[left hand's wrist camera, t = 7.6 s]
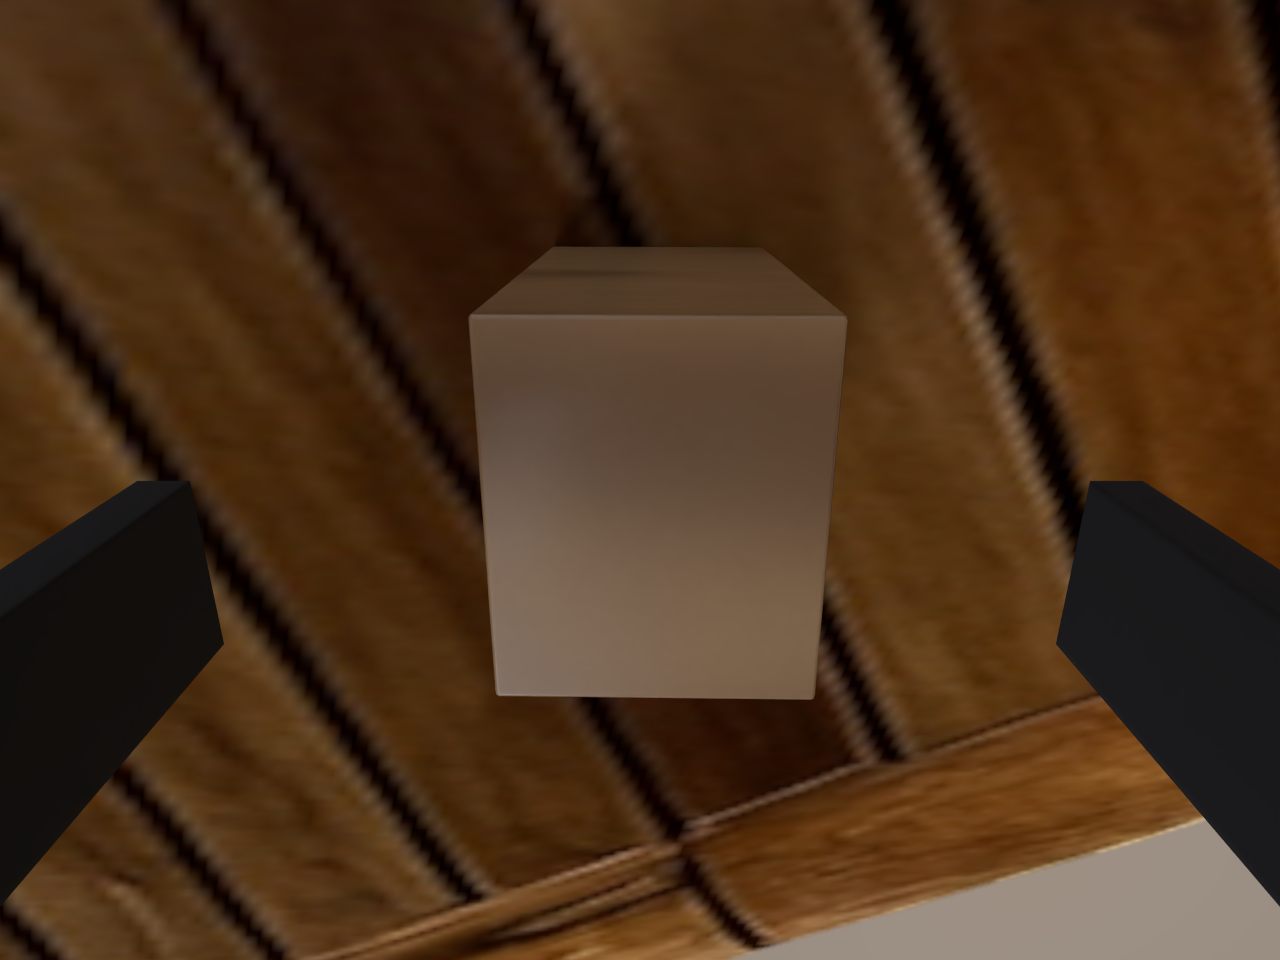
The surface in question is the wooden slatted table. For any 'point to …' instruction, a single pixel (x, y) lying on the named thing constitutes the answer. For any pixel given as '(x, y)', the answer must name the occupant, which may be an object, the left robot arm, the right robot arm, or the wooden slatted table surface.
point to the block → (657, 472)
